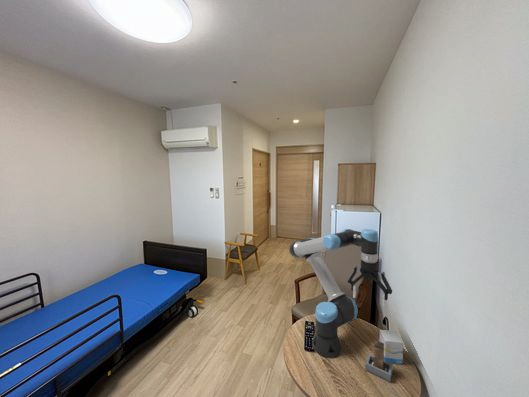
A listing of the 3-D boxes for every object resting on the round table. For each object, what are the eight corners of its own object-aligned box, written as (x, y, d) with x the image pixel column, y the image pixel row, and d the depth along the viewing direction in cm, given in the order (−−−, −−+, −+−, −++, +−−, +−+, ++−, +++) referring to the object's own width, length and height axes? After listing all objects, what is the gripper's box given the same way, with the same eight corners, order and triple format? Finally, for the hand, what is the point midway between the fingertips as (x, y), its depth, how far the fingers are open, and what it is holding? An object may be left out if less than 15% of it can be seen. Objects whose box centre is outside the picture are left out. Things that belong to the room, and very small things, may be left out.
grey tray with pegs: (365, 370, 102) (365, 363, 102) (368, 360, 108) (368, 353, 108) (390, 382, 96) (390, 375, 95) (392, 371, 101) (392, 364, 101)
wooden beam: (373, 370, 101) (374, 344, 100) (375, 364, 104) (375, 340, 103) (382, 374, 99) (382, 348, 98) (383, 368, 102) (384, 343, 101)
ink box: (403, 364, 105) (403, 342, 104) (384, 362, 106) (384, 340, 105) (396, 351, 113) (396, 330, 112) (378, 349, 115) (379, 328, 114)
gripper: (341, 257, 110) (341, 296, 112) (397, 268, 95) (396, 313, 97) (346, 253, 116) (345, 290, 118) (399, 263, 101) (398, 305, 102)
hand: (368, 301), depth 107 cm, fingers open, 13 cm apart
